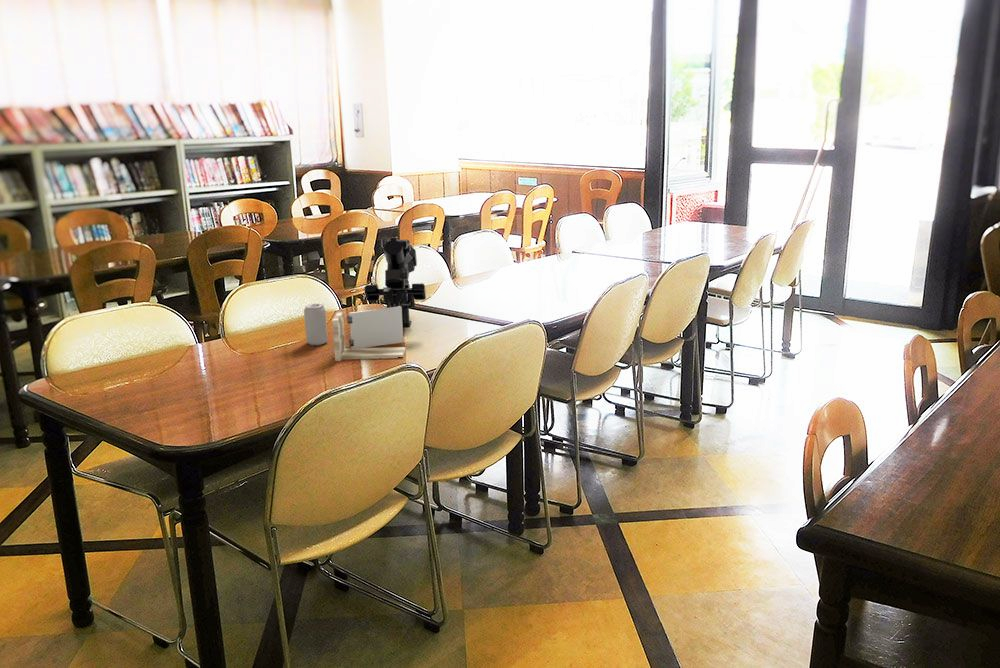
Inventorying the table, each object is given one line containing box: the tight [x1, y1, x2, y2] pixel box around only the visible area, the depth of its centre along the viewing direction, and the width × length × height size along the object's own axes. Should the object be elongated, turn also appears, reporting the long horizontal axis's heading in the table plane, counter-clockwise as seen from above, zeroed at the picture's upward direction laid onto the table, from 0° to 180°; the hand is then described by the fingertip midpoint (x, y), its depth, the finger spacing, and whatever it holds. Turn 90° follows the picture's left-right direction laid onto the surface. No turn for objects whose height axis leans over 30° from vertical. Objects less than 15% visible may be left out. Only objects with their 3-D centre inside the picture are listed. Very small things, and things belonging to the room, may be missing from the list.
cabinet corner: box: [331, 311, 406, 362], centre depth 232 cm, size 10×19×12 cm, turn 92°
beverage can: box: [303, 303, 329, 346], centre depth 246 cm, size 6×6×12 cm
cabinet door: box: [346, 306, 404, 348], centre depth 240 cm, size 2×17×11 cm, turn 117°
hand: (394, 315), depth 247 cm, fingers closed
